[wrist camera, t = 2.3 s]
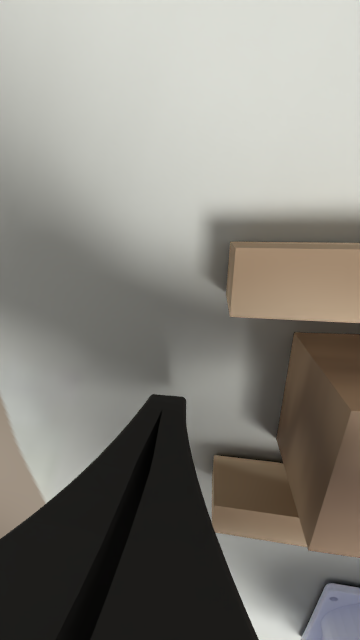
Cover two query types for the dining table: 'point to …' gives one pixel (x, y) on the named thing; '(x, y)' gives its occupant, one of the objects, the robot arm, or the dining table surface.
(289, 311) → the trap lane
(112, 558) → the robot arm
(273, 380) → the dining table surface
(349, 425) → the tan wooden block
